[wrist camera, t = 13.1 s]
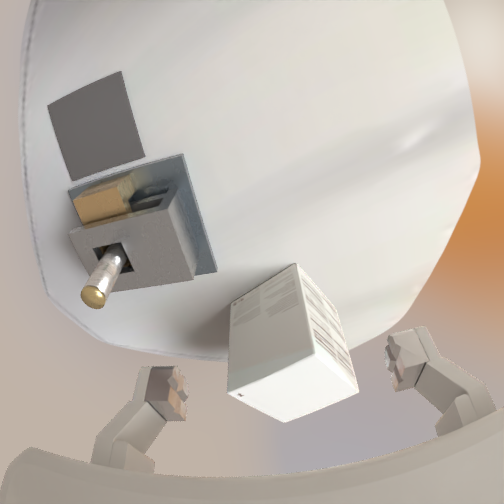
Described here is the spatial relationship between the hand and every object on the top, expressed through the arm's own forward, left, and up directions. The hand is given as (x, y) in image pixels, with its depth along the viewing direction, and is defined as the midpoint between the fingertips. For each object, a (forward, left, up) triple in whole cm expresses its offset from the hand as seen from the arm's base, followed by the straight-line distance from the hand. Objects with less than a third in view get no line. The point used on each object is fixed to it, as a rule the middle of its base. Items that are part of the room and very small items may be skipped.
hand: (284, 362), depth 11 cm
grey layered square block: (+8, -18, -31) cm, 36 cm away
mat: (-8, -20, -31) cm, 38 cm away
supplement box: (+26, 0, -31) cm, 41 cm away
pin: (+8, -20, -30) cm, 37 cm away
